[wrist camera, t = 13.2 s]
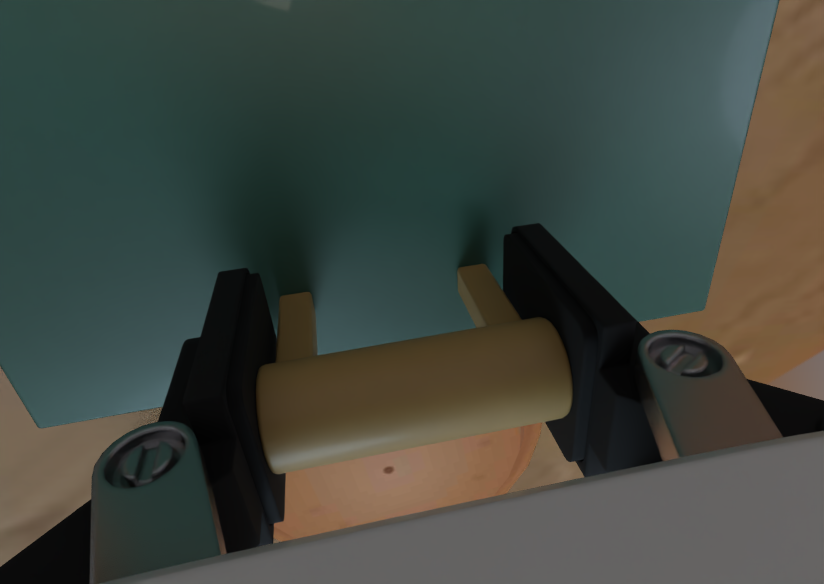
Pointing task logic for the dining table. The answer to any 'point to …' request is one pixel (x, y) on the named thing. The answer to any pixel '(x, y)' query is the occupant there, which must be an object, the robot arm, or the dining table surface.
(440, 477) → the pie
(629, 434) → the robot arm
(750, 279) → the dining table surface
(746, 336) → the dining table surface
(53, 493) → the dining table surface
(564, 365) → the bread bin lid
